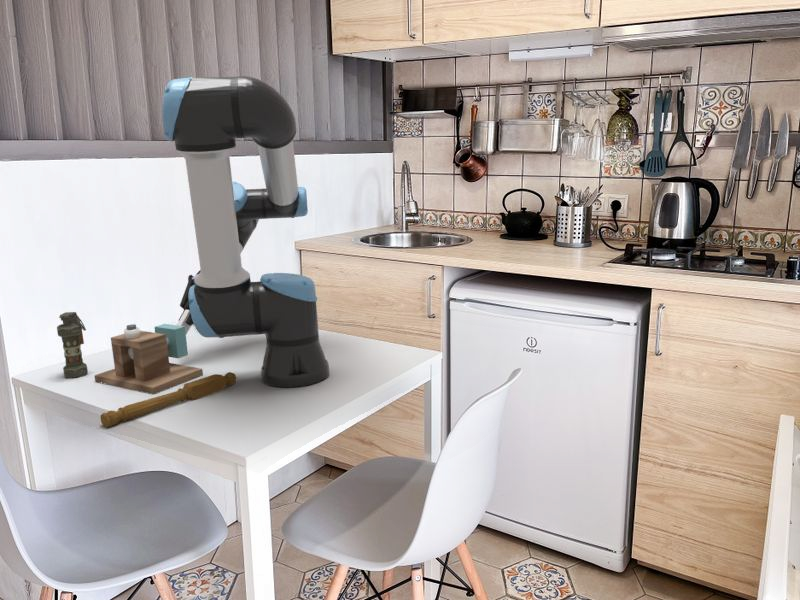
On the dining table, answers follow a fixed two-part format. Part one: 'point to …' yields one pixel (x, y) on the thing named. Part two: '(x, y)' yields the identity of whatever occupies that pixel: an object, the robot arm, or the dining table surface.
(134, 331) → the dial
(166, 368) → the mount
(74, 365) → the grenade
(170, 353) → the teal piece
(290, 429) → the dining table surface
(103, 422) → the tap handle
